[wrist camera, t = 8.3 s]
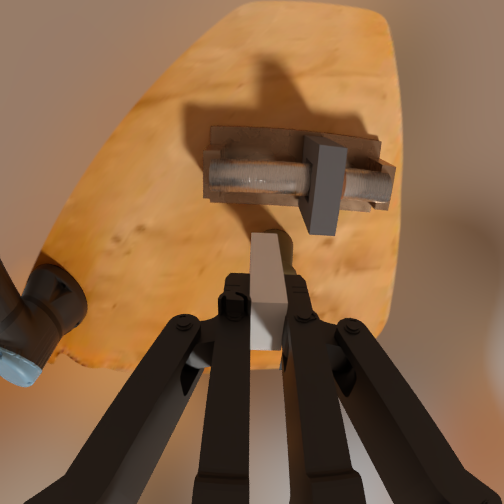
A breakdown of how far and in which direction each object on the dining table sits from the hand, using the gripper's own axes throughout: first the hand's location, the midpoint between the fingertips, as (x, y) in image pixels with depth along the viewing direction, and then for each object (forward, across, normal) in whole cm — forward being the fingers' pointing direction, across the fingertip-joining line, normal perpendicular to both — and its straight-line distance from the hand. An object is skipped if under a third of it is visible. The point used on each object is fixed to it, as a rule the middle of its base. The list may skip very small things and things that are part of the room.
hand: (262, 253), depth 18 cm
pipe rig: (+26, +5, 0) cm, 26 cm away
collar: (+24, +7, 0) cm, 25 cm away
